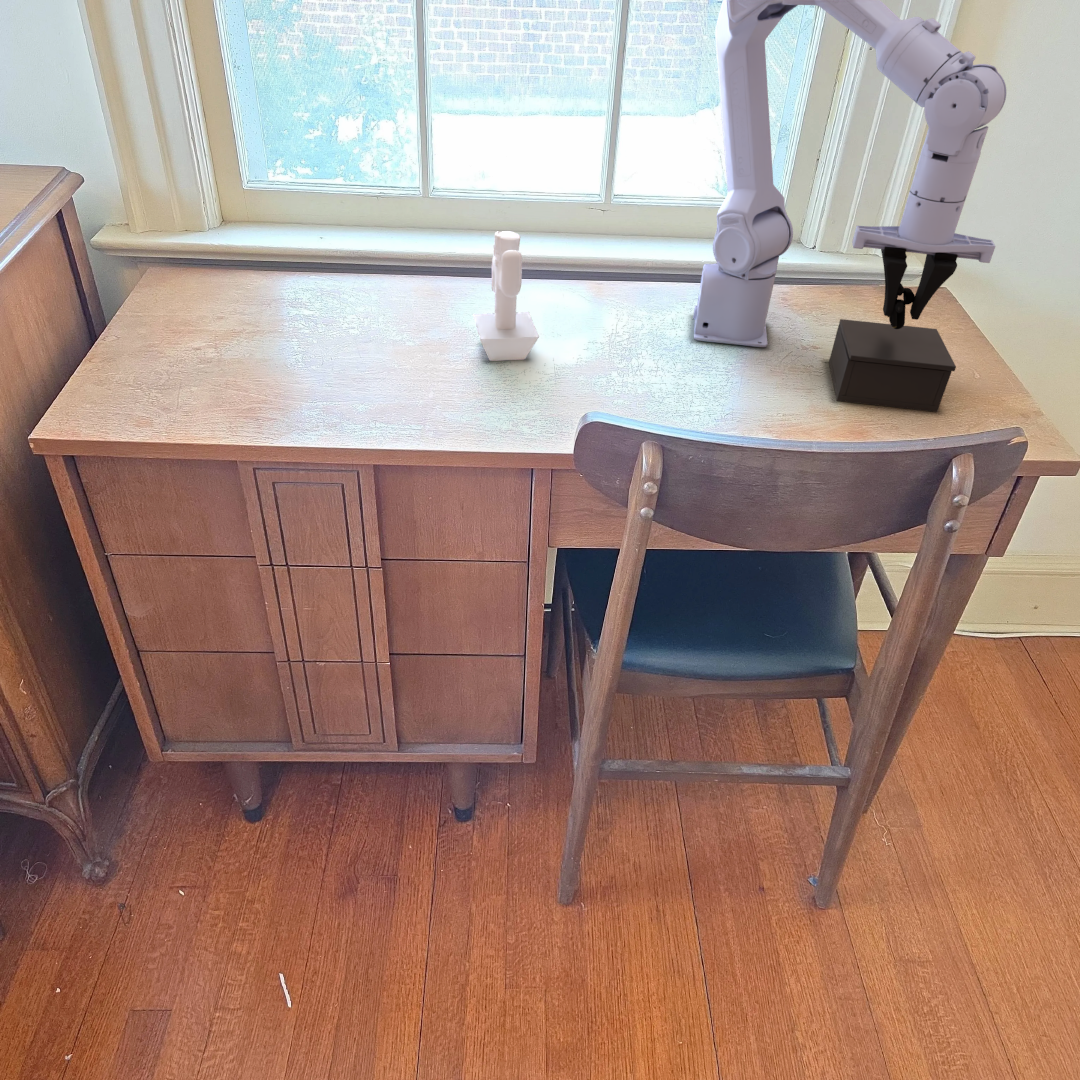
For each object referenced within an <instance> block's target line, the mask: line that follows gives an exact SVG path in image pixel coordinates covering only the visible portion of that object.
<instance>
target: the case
mask: <svg viewBox="0 0 1080 1080" xmlns="http://www.w3.org/2000/svg"><path fill="white" fill-rule="evenodd" d="M828 366H829V371H830V375H831V380H832V385H833V390H834V394H835V398H836V401H837V402H844V403H851V404H863V405H869V406H870V405H871V406H879V407H889V408H898V409H905V410H906V409H907V410H915V411H916V410H917V411H923V412H924V411H925V412H932V413H938V411H939V408H940V406H941V403H942V399H943V397H944V394H945V392H946V388H947V386H948V383H949V380H950V378H951V375H952V372H953V371H947V370H938V369H929V368H919V367H910V366H901V365H891V364H882V363H873V362H863V361H854V360H850V358H849V355H848V352H847V348H846V345H845V341H844V338H843V335H842V331H841V328H840V324H839V323H838V326H837V330H836V333H835V337H834V342H833V345H832V348H831V352H830V356H829V360H828Z"/></svg>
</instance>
